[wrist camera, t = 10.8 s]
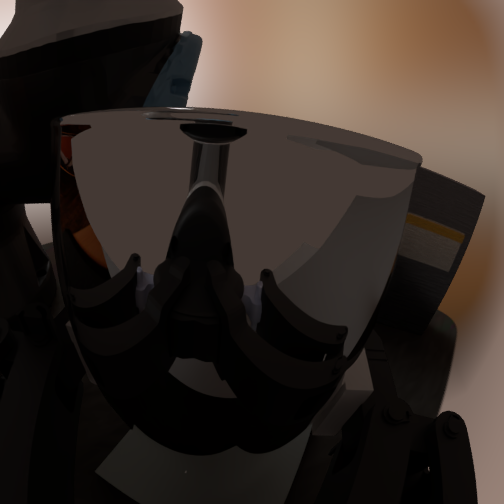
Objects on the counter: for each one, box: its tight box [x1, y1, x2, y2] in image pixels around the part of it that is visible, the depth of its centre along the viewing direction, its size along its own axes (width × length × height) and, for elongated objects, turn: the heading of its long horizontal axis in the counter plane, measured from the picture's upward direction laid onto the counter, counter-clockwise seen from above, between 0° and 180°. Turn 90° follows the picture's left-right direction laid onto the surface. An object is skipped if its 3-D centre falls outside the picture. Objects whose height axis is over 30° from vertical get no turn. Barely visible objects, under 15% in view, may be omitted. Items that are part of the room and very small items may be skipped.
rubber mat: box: [95, 424, 312, 504], centre depth 12 cm, size 10×10×1 cm
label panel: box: [376, 167, 485, 335], centre depth 25 cm, size 19×6×16 cm, turn 68°
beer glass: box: [50, 107, 422, 500], centre depth 8 cm, size 7×7×15 cm
